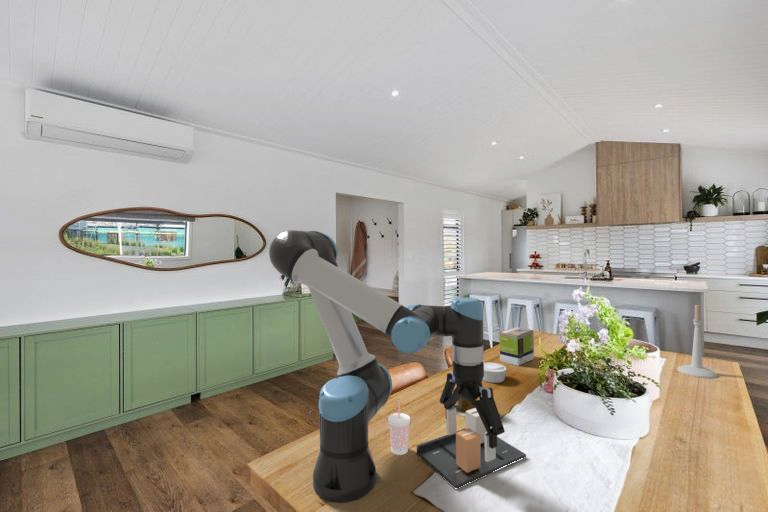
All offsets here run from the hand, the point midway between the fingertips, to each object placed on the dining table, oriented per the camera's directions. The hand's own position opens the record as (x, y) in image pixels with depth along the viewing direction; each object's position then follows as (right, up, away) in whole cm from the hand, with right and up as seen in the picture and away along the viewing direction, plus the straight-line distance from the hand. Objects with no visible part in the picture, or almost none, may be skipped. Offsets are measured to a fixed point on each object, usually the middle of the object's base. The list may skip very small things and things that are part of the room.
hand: (469, 445), depth 87 cm
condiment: (+6, -6, +33) cm, 34 cm away
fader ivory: (+5, -5, +12) cm, 14 cm away
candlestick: (+115, -4, +65) cm, 132 cm away
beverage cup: (-17, -7, +10) cm, 21 cm away
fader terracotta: (0, -5, 0) cm, 5 cm away
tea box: (+43, -4, +84) cm, 95 cm away
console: (+2, -6, +7) cm, 9 cm away
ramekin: (+24, -5, +61) cm, 66 cm away
